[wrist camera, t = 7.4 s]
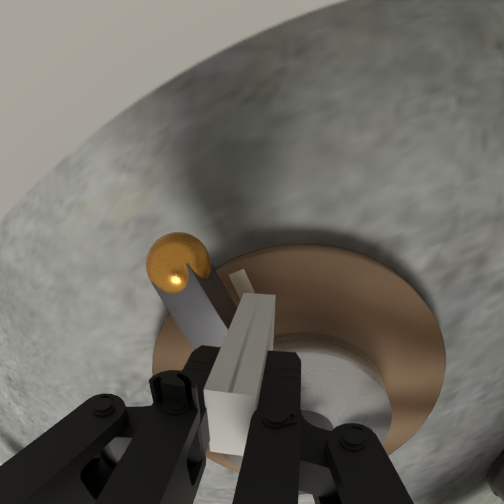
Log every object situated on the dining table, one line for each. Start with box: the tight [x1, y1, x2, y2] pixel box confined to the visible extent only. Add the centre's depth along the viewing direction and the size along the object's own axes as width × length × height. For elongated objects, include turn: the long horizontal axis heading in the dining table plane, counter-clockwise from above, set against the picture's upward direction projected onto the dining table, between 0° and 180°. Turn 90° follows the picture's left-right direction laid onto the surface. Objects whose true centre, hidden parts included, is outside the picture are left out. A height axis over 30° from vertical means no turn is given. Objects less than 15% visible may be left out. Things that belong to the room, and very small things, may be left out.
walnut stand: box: [152, 244, 446, 472], centre depth 22 cm, size 22×22×2 cm
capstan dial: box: [146, 232, 392, 495], centre depth 17 cm, size 20×12×7 cm, turn 29°
